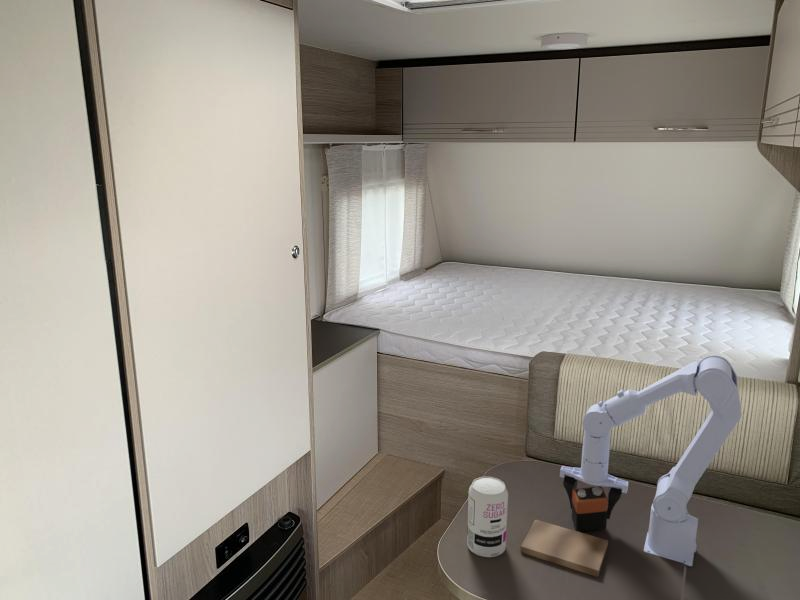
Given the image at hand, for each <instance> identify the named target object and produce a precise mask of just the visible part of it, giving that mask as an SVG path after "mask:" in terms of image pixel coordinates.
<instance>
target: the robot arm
mask: <svg viewBox="0 0 800 600" xmlns="http://www.w3.org/2000/svg"><path fill="white" fill-rule="evenodd" d="M738 382H739V381H738V376H737V373H736V371H735V369H734V367H733V366H732V364H731V363H730V361H729V360H728V359H726V358H725V357H724V356H720V355H716V354H711V355H708V356H707V355H706V356H705V357H703V358H701V360H700V361H699V360H695V361H692V362H690V363H689V364H686V365H685V366H683V367H682V368H678V370H675V371H673V372H672V373H670V374H669V375H666V376H665V377H664V376H663V378H661V379H659V380H657V381H655V382H654V383H652V384H650V385H648V386H646V387H644V388H643V389H641V390H635V389H627V390H624V389H621V390H618V391H617V393H616V396H613V397H611V398H609V399H607V400H600V401H598V403H595V404H592V405H591V406H590V407H589V408H588V410H587V411H586V413H585V414H584V416H583V420H582V428H583V430H584V431H583V434H584V435H583V437H582V438H583V440H582V450H581V452H582V453H581V464H580V465H581V466H580V467H574V466H573V467H572V466H565V465H561V468H560V470H559V477H560V478H562V479H563V481H562V486H563V487H564V489H565V491H566V493H567V497H568V500H569V505H570V510H572V490H573V489H578V487H577V486H578V481H579V482H583V483H585V484H587V485H591V486H594V487H598V486H601V487H605V488H607V489H609V491H608V496H607V498H608V507H607V520H610V519H611V517H612V512H613V510H614V508H615V506H616V504H617V503H618V502H619V500H620V498H621V497H622V494H627V493H628V491H629V489H628V488H629V481H627V480H624V479H620V478H619V477H616V476H614V475H611V474H609V473H608V472H609V464H610V463H609V460H610V450H611V431H612V430H611V429H612V428H614V427H618V426H621V425H623V424H625V423H627V422H630V421H631V420H634V419H636V418H638V417H640V416H643V415H644V414H646V413H645V412H646V409H647V406H649V405H653V404H654V403H657V402H659V401H661V400H664V399H667V398H669V397H671V396H673V395H677V394H679V393H685V394H688V395H692V396H697V391H698V393H699V394H700V395H701V396H702V397H703V398H704V399H705V400H706V401H707V402H708V404H709V406H710V408H711V411H710V413H709V414H708V415H707V417H706V419H705V420H704V422H703V423H702V425H701V427H700V428H699V430H698V431H697V432H696V435H695V436H694V437H693V438H692V440H691V442H690V443H689V445H688V447H687V448H686V450H685V451H684V453H683V455H681V457H680V459H679V460H678V462H677V463H676V465H675V466H673V467H672V468H671V469H670V470H669V472H668V473H666V474H664V475H662V476H660V477H659V479H658V481H657V483H656V491H655V496H654V498H653V502H652V504H651V508H650V516H649V525H648V531H647V533H646V536H645V543H644V546H643V547H644V548H643V552H645V553H647V554H651V555H654V556H657V557H661V558H664V559H668V560H671V561H675V562H679V563H682V564H684V566H687V567H693V564H694V555H695V553H696V551H697V545H698V544H697V543H696V541H697V540H696V539H697V532H698V525H699V518H698V517H695V516H693V515H691V514H690V513H689V511H688V509H687V505H688V502H689V501H690V500H691V497H692V494H693V492H694V489H695V487H696V485H697V483H698V482H699V481H700V478H701V477H702V476H703V474H704V473H705V471H706V470H707V468H708V467H709V465H710V464H711V463H712V461H713V460H714V458H715V456H716V455H717V453H718V452H719V451H720V449H722V447H723V445H724V443H725V442H726V440H727V439H728V437H730V434H731V433H732V431H733V430H734V429H735V427H736V426H737V425H738V423H739V421H740V420H741V417H742V415H743V413H742V405H741V398H740V390H739V383H738Z"/></svg>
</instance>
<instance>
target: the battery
mask: <svg viewBox="0 0 800 600" xmlns="http://www.w3.org/2000/svg"><path fill="white" fill-rule="evenodd" d="M607 509H608V496H607V494H606V492H605V490H604V488H603V486H591V487H581V488H577V489H573V490H572V509H571V520H572V523H573V526H574V529H575V531H577V532H589V531H598V530H606V529H607V522H608V521H607V520H608V519H607Z"/></svg>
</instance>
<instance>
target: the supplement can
mask: <svg viewBox="0 0 800 600" xmlns="http://www.w3.org/2000/svg"><path fill="white" fill-rule="evenodd" d="M467 498H468V500H467V504H468V505H467V530H466V531H467V533H466V536H467V537H466V538H467V539H466V545H467V548H468V549H469V550H470V551H471V553H473V554H475V555H476V556H479V557H482V558H483V557H484V558H494V557H495V558H496V557H498V556H500V555H502V554H503V553H504V552H505V551H506V547H507V544H506V543H507V542H506V541H507V525H508V524H507V523H508V506H509V505H508V503H509V491H508V490H507V487H506V484H505V482H504V481H502V480H501V479H499V478H497V477H494V476H480V477H478V478H477V477H476V478H474V480H472V483H471V485H470V486H469V489H468V497H467Z"/></svg>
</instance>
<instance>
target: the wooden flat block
mask: <svg viewBox="0 0 800 600" xmlns="http://www.w3.org/2000/svg"><path fill="white" fill-rule="evenodd" d="M608 545H609V540H608V539H605V538H601V537H598V536H594V535H590V534H588V533H585V532H582V531H580V532H578V531H576V530H574V529H570V528H566V527H564V526H563V527H562V526H559V525H556V524H553V523H550V522H547V521H542V520H539V519H534V521H533V523H532V524H531V526H530V528H529V530H528V533H527V534H526V536H525V538H524V539H523V542H522V543H521V545H520V553H523V554H525V555H528V556H531V557H534V558H537V559H539V560H540V559H541V560H543V561H546V562H550V563H553V564H554V565H555V564H556V565H559V566H562V567H564V568H568V569H571V570H573V571H574V570H575V571H578V572H581V573H583V574H584V573H585V574H587V575H590V576H593V577H597V578H598V577H599V575H600V573H601V569H602V567H603V566H602V565H603V562H604V559H605V555H606V553H607V550H608Z"/></svg>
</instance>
